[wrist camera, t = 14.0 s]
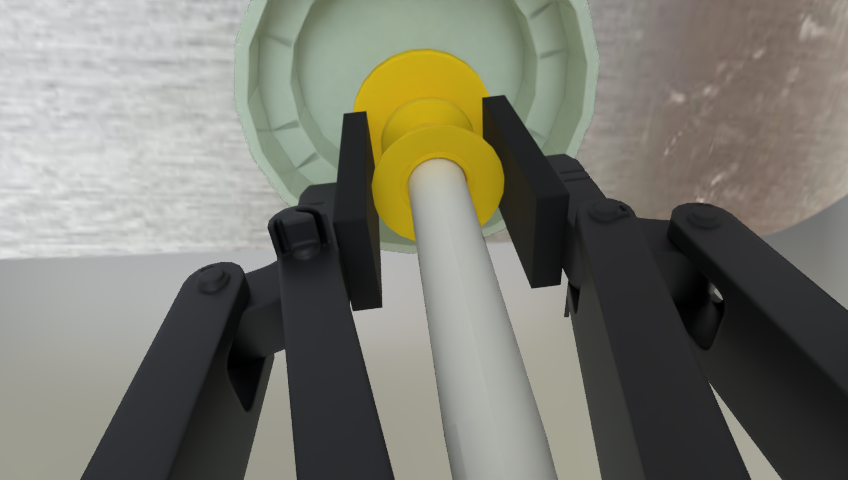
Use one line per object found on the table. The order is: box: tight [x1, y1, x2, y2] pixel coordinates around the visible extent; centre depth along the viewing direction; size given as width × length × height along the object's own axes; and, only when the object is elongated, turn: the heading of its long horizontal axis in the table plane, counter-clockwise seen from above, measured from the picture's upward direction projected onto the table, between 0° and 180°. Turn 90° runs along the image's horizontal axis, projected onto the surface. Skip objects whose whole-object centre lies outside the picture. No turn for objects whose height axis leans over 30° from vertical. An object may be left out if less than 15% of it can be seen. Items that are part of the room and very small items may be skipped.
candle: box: [353, 48, 558, 480], centre depth 12 cm, size 5×5×16 cm
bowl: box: [234, 0, 599, 254], centre depth 21 cm, size 14×14×5 cm
